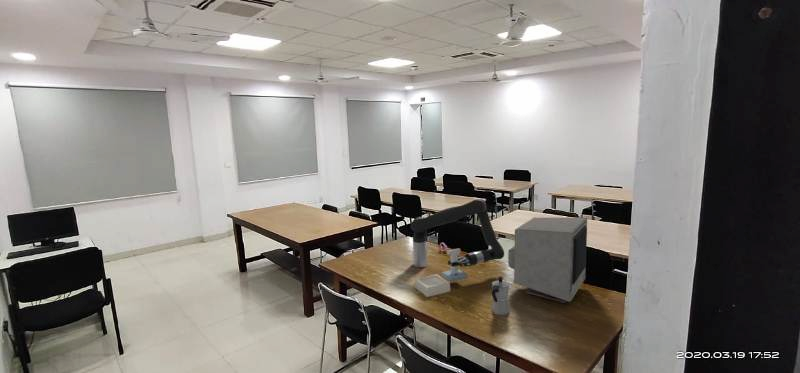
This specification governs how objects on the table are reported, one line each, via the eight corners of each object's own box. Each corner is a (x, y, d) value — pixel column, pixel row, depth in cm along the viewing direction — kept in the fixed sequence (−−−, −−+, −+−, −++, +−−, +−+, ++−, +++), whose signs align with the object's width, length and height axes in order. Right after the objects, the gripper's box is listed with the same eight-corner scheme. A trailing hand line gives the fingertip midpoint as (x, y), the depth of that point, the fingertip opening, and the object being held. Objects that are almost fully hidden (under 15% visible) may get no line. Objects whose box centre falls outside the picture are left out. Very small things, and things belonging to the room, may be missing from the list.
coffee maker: (497, 304, 192) (497, 271, 190) (514, 308, 187) (514, 274, 184) (484, 315, 181) (484, 280, 179) (501, 320, 176) (501, 284, 173)
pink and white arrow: (459, 260, 268) (439, 250, 282) (460, 259, 269) (440, 249, 283) (460, 251, 266) (440, 242, 281) (461, 251, 267) (441, 241, 281)
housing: (414, 287, 218) (414, 278, 217) (437, 282, 224) (436, 273, 223) (427, 297, 204) (426, 288, 203) (450, 291, 210) (450, 282, 209)
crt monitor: (573, 312, 181) (575, 233, 175) (500, 294, 204) (500, 223, 198) (587, 287, 209) (590, 217, 203) (522, 273, 231) (522, 211, 225)
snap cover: (441, 275, 222) (440, 249, 220) (457, 271, 226) (456, 245, 224) (451, 281, 212) (450, 254, 210) (467, 277, 216) (466, 250, 214)
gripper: (467, 249, 229) (443, 254, 223) (481, 255, 217) (456, 261, 210) (467, 261, 231) (443, 266, 224) (481, 268, 218) (456, 273, 211)
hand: (450, 263), depth 217 cm, fingers closed on snap cover, 3 cm apart
